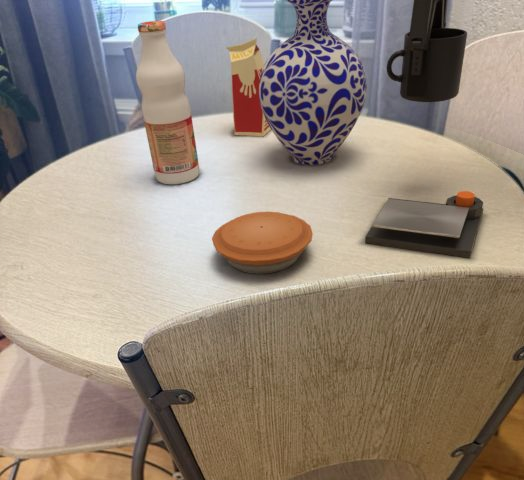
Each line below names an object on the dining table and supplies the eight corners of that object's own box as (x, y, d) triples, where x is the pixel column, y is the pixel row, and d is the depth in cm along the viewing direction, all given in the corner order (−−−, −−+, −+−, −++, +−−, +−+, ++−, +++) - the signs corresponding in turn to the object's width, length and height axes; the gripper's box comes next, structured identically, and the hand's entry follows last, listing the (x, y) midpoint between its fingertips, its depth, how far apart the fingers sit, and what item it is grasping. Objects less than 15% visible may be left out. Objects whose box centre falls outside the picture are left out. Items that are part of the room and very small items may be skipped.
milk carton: (274, 124, 135) (270, 33, 122) (265, 136, 128) (259, 42, 115) (240, 123, 137) (232, 34, 124) (229, 135, 130) (219, 43, 117)
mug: (381, 90, 93) (385, 31, 88) (451, 86, 92) (460, 26, 87) (387, 105, 86) (392, 42, 80) (464, 101, 85) (474, 36, 79)
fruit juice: (146, 178, 113) (114, 25, 95) (181, 164, 117) (156, 16, 100) (174, 189, 107) (144, 29, 89) (209, 174, 112) (188, 19, 94)
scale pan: (468, 209, 85) (469, 207, 85) (459, 238, 78) (459, 236, 78) (388, 200, 90) (388, 198, 89) (372, 226, 83) (372, 225, 83)
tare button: (474, 201, 88) (476, 191, 87) (471, 209, 86) (473, 198, 85) (456, 200, 89) (458, 190, 88) (453, 207, 87) (455, 197, 86)
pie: (204, 281, 80) (200, 251, 76) (226, 232, 91) (222, 204, 88) (307, 283, 77) (307, 253, 74) (316, 232, 89) (316, 204, 86)
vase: (255, 176, 109) (241, 4, 90) (272, 140, 125) (263, -13, 106) (361, 176, 105) (370, -4, 86) (364, 139, 121) (373, -20, 102)
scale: (482, 213, 90) (486, 197, 88) (469, 258, 79) (473, 240, 77) (388, 203, 96) (389, 187, 94) (364, 243, 85) (365, 225, 83)
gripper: (429, -87, 83) (414, 70, 98) (394, -79, 68) (382, 105, 83) (480, -91, 81) (456, 71, 95) (454, -84, 66) (431, 108, 80)
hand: (422, 87), depth 89 cm, fingers closed on mug, 9 cm apart
